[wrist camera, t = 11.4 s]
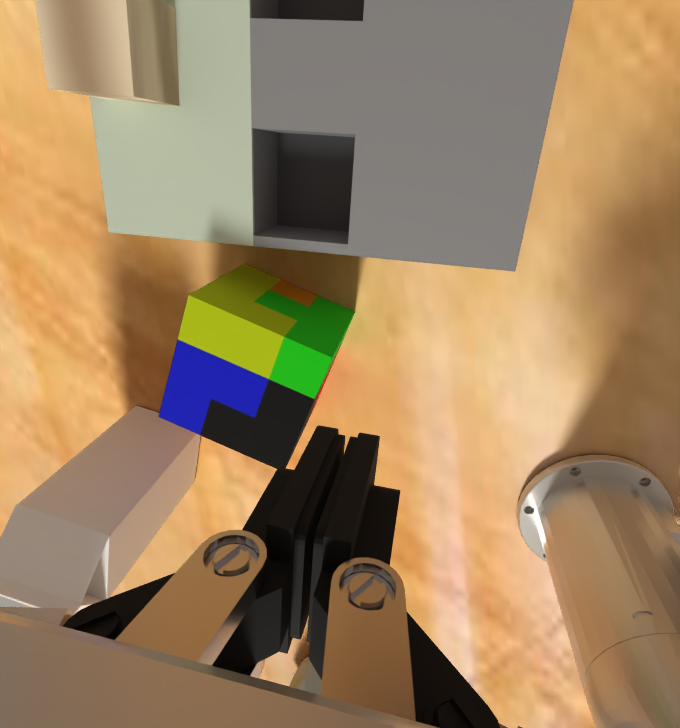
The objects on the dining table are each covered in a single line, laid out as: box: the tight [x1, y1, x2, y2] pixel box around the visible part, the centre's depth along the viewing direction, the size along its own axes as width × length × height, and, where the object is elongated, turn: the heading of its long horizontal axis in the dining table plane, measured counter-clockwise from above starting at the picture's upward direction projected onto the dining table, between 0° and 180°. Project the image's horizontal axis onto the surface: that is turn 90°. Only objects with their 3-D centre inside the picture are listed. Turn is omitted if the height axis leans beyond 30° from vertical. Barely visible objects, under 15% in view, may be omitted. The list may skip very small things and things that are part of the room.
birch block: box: [35, 0, 180, 106], centre depth 26 cm, size 5×5×5 cm
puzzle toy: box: [159, 264, 355, 469], centre depth 37 cm, size 10×10×10 cm
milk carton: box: [0, 406, 201, 615], centre depth 39 cm, size 7×7×19 cm
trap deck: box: [90, 0, 574, 271], centre depth 30 cm, size 28×20×6 cm
